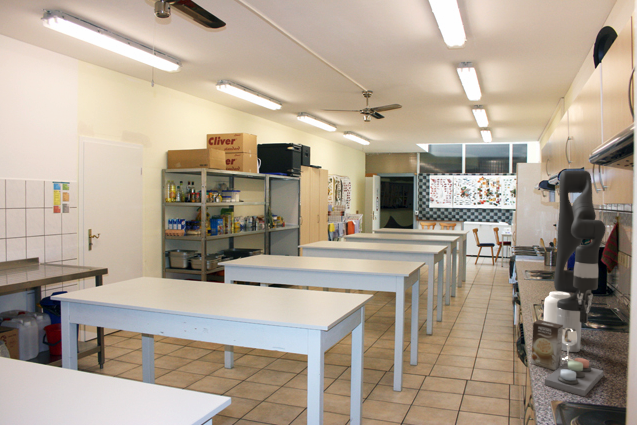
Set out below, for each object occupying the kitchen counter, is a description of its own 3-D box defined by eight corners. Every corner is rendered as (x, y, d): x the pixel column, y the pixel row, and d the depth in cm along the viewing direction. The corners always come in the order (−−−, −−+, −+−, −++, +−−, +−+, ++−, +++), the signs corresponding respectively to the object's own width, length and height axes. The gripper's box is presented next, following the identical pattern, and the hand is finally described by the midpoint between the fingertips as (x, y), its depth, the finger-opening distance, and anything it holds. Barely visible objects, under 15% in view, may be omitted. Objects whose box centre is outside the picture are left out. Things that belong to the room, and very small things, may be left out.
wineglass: (578, 362, 174) (579, 332, 174) (562, 361, 175) (563, 330, 175) (573, 357, 180) (574, 327, 179) (557, 356, 181) (558, 326, 181)
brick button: (576, 362, 166) (576, 357, 166) (590, 365, 163) (590, 360, 163) (572, 365, 163) (572, 360, 163) (586, 369, 159) (587, 363, 159)
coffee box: (530, 363, 172) (531, 322, 172) (536, 359, 177) (538, 319, 176) (555, 370, 166) (557, 327, 165) (561, 366, 170) (563, 324, 170)
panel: (566, 366, 170) (566, 359, 170) (603, 376, 162) (603, 368, 161) (544, 384, 153) (544, 376, 153) (584, 396, 144) (584, 387, 144)
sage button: (569, 365, 160) (570, 359, 160) (584, 368, 157) (584, 363, 157) (565, 368, 157) (566, 362, 157) (580, 372, 154) (580, 366, 154)
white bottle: (573, 340, 201) (575, 296, 200) (542, 336, 207) (544, 293, 206) (573, 333, 212) (574, 291, 211) (543, 329, 218) (545, 288, 217)
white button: (562, 373, 155) (563, 368, 154) (577, 377, 151) (577, 372, 151) (558, 377, 151) (558, 371, 151) (573, 381, 148) (573, 375, 148)
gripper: (579, 271, 169) (577, 317, 169) (568, 275, 159) (566, 324, 160) (602, 274, 163) (600, 321, 164) (592, 278, 154) (590, 328, 155)
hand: (583, 322), depth 162 cm, fingers closed
